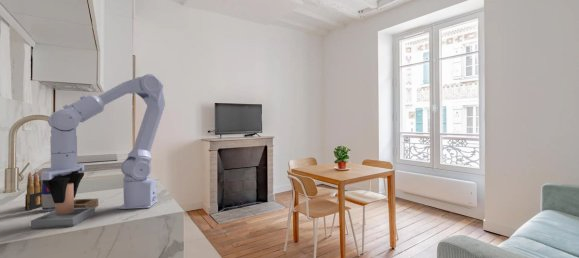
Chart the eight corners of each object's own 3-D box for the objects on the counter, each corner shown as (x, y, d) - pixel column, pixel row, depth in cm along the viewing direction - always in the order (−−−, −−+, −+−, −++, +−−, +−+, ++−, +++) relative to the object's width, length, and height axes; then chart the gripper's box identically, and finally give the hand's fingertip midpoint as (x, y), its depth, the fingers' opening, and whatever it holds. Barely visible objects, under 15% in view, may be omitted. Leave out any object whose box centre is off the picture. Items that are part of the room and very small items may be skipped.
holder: (98, 205, 89) (98, 198, 89) (85, 212, 82) (85, 204, 82) (75, 206, 88) (75, 199, 88) (60, 213, 81) (60, 205, 81)
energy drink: (51, 212, 82) (50, 173, 82) (37, 211, 83) (36, 173, 83) (68, 207, 88) (68, 170, 87) (55, 206, 89) (55, 170, 88)
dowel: (77, 209, 77) (76, 182, 77) (67, 214, 73) (67, 185, 73) (62, 210, 77) (61, 183, 77) (51, 215, 73) (51, 186, 73)
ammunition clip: (57, 200, 95) (57, 167, 95) (62, 200, 95) (61, 167, 95) (24, 210, 84) (24, 172, 84) (30, 210, 84) (29, 173, 84)
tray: (95, 213, 81) (94, 207, 81) (73, 226, 71) (73, 218, 71) (58, 215, 79) (58, 208, 79) (31, 228, 70) (30, 220, 70)
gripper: (66, 150, 81) (67, 194, 82) (26, 155, 67) (27, 209, 67) (91, 149, 82) (92, 193, 83) (57, 155, 68) (58, 207, 68)
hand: (65, 200), depth 75 cm, fingers closed on dowel, 4 cm apart
